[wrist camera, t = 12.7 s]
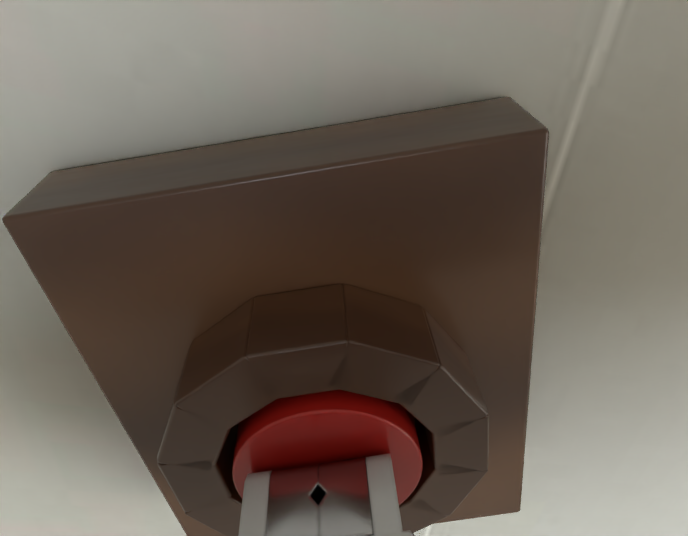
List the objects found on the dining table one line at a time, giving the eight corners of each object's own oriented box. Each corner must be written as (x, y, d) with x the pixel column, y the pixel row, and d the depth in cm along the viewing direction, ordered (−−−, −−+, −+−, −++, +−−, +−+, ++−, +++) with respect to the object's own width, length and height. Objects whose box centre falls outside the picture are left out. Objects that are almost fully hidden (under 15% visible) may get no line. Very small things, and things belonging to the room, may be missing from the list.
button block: (49, 170, 11) (-62, 273, 8) (510, 94, 11) (600, 168, 7) (209, 492, 18) (186, 623, 14) (498, 451, 17) (543, 575, 14)
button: (220, 363, 11) (207, 428, 10) (402, 335, 11) (416, 397, 10) (262, 473, 13) (257, 540, 12) (415, 451, 13) (428, 516, 12)
